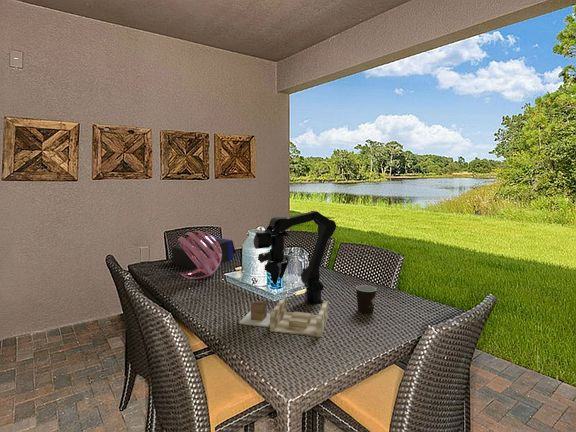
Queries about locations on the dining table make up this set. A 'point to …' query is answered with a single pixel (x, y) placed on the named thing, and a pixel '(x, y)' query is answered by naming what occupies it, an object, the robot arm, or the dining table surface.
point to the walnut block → (258, 310)
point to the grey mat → (255, 321)
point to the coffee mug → (365, 298)
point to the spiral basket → (201, 253)
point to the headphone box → (184, 260)
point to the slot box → (298, 320)
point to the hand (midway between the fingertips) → (278, 281)
